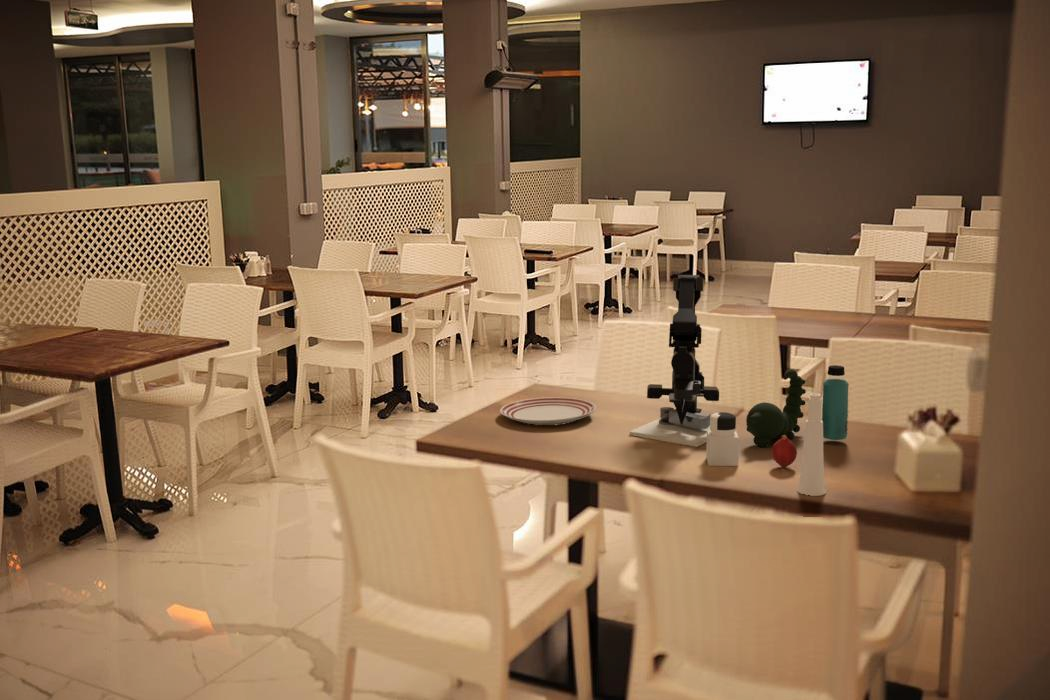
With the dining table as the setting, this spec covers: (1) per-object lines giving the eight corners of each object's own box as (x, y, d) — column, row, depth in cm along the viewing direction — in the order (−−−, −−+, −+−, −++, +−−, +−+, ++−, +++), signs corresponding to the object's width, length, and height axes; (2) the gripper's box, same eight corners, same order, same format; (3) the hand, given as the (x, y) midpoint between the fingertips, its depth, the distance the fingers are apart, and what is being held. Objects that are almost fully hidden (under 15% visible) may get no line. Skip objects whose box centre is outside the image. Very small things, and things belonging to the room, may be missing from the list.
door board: (663, 420, 284) (663, 406, 283) (728, 431, 272) (728, 416, 271) (629, 435, 270) (629, 420, 269) (696, 446, 258) (697, 431, 257)
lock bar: (657, 420, 278) (657, 408, 277) (666, 417, 280) (666, 406, 279) (699, 430, 267) (700, 418, 266) (708, 427, 269) (708, 416, 268)
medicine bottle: (735, 457, 248) (736, 410, 246) (738, 466, 241) (739, 417, 239) (706, 457, 249) (706, 410, 247) (708, 466, 242) (709, 417, 240)
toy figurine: (779, 434, 274) (731, 447, 255) (784, 365, 272) (736, 372, 253) (811, 440, 268) (765, 453, 249) (817, 369, 265) (770, 377, 247)
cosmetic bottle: (813, 498, 219) (817, 399, 214) (791, 491, 223) (794, 394, 219) (831, 492, 222) (835, 394, 218) (809, 485, 227) (812, 389, 223)
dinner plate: (487, 427, 281) (486, 416, 280) (516, 404, 306) (516, 393, 306) (583, 433, 273) (583, 421, 272) (605, 409, 298) (605, 398, 298)
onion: (777, 462, 244) (778, 430, 242) (800, 466, 240) (801, 434, 239) (766, 468, 240) (767, 435, 238) (789, 472, 236) (790, 439, 234)
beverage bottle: (848, 446, 256) (851, 369, 252) (821, 445, 257) (824, 368, 254) (845, 439, 262) (849, 363, 259) (819, 438, 264) (822, 363, 260)
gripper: (647, 371, 260) (645, 430, 263) (721, 373, 257) (718, 433, 260) (648, 363, 271) (646, 419, 273) (719, 365, 268) (716, 422, 271)
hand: (681, 424), depth 269 cm, fingers closed
